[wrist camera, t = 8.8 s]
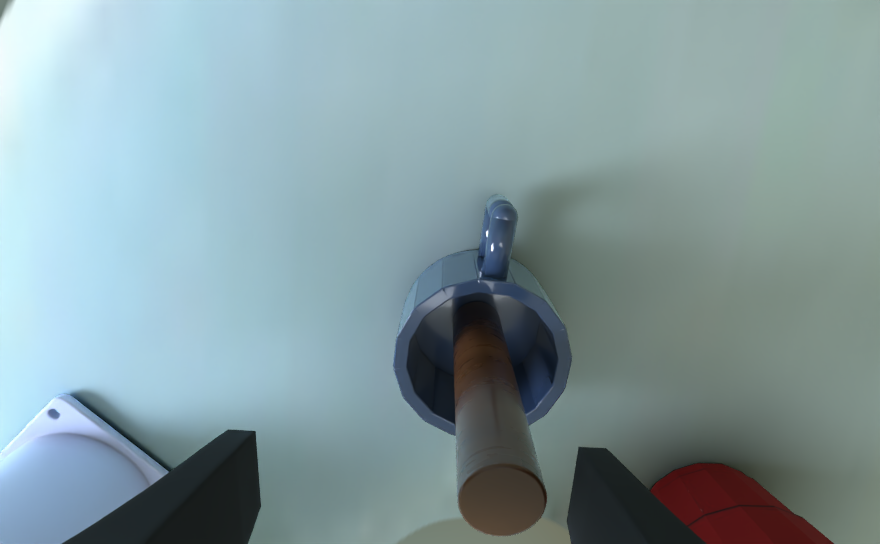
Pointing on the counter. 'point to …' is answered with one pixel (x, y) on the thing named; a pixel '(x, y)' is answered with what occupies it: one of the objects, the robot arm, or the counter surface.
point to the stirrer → (492, 430)
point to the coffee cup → (520, 311)
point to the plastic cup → (731, 508)
